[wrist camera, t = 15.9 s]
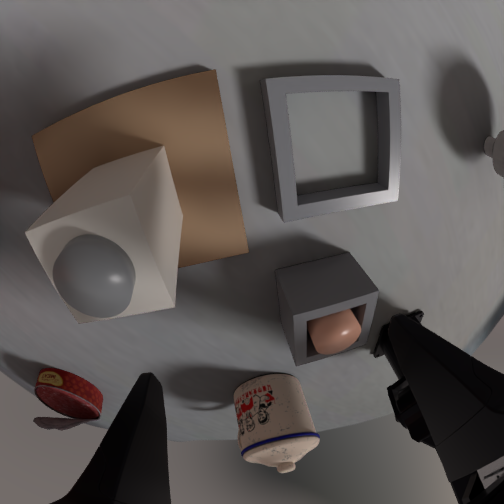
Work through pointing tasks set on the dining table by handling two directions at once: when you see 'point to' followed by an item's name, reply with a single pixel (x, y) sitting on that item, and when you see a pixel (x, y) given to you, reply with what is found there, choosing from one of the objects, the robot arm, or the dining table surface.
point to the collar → (282, 149)
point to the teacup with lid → (274, 421)
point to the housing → (323, 300)
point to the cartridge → (114, 239)
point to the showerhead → (496, 152)
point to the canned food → (67, 399)
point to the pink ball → (334, 332)
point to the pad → (177, 150)
